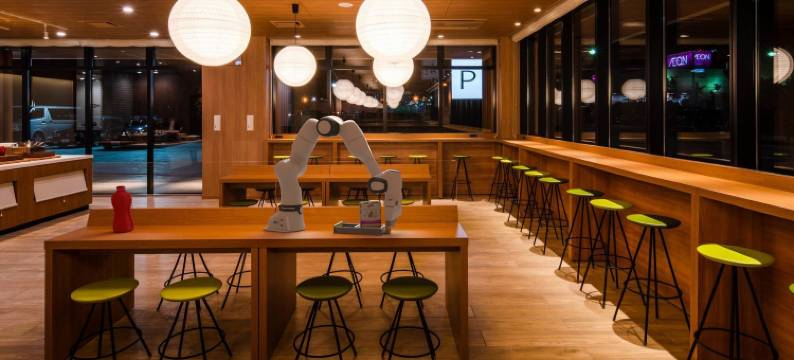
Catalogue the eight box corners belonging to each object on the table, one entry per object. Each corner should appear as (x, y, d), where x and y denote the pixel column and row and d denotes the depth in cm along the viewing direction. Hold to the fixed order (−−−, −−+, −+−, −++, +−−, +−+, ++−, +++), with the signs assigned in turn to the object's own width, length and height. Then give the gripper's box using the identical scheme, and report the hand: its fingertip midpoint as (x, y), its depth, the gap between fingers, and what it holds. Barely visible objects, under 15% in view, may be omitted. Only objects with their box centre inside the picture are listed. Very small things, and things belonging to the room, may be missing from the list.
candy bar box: (379, 230, 286) (379, 200, 284) (381, 232, 281) (381, 201, 279) (359, 231, 284) (359, 201, 282) (360, 233, 279) (360, 202, 277)
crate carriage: (354, 232, 280) (354, 219, 280) (360, 229, 289) (360, 216, 288) (387, 234, 275) (387, 221, 275) (392, 231, 284) (392, 218, 283)
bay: (333, 232, 282) (333, 225, 281) (341, 228, 293) (341, 221, 293) (381, 235, 275) (381, 227, 274) (387, 230, 286) (387, 223, 286)
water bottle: (127, 233, 282) (124, 187, 279) (109, 232, 284) (106, 186, 281) (139, 230, 291) (136, 184, 288) (122, 229, 293) (119, 184, 290)
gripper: (393, 197, 288) (393, 222, 289) (382, 203, 268) (382, 229, 270) (404, 197, 286) (404, 222, 288) (394, 203, 267) (394, 230, 268)
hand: (393, 226), depth 279 cm, fingers closed
